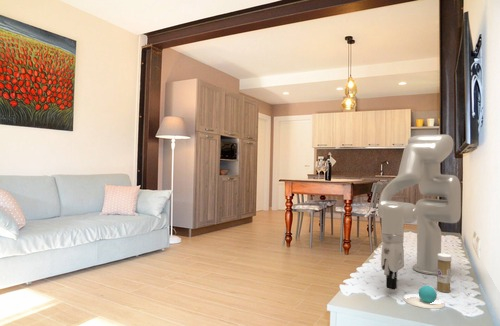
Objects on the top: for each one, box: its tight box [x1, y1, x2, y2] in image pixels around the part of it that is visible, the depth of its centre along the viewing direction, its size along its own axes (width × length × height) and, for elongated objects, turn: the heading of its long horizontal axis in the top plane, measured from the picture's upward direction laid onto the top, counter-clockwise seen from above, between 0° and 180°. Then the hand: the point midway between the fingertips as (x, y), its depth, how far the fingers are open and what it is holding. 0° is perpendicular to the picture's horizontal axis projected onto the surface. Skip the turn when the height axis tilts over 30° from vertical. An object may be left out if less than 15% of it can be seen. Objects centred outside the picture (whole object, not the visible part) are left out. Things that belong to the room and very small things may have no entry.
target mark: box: [403, 297, 446, 310], centre depth 121 cm, size 13×13×1 cm
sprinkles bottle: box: [436, 252, 452, 293], centre depth 131 cm, size 5×5×13 cm
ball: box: [418, 285, 438, 303], centre depth 120 cm, size 6×6×6 cm
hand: (391, 288), depth 128 cm, fingers closed
